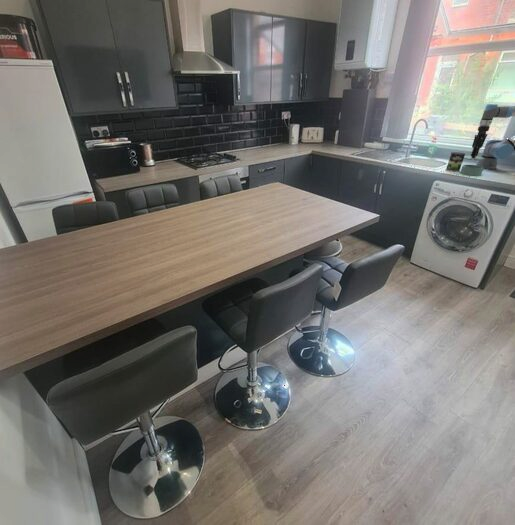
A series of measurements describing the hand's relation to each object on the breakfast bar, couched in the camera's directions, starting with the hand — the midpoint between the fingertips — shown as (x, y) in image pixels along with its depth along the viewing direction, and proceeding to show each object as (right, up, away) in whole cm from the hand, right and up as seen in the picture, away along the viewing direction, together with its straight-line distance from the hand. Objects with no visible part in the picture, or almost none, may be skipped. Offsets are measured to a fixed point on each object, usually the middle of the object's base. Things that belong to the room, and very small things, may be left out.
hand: (473, 155), depth 248 cm
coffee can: (-15, -11, +5) cm, 19 cm away
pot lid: (0, -2, +1) cm, 2 cm away
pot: (-8, -17, -7) cm, 21 cm away
